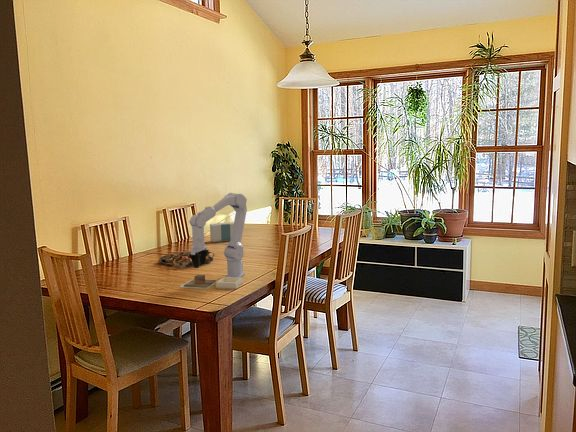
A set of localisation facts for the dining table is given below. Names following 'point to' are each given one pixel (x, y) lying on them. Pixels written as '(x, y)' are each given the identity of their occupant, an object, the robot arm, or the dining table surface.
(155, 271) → the dining table surface
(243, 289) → the dining table surface
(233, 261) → the robot arm
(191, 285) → the lid
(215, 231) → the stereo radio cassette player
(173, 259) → the food dish
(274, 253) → the dining table surface
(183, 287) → the beige flat square piece
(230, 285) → the white square tray
